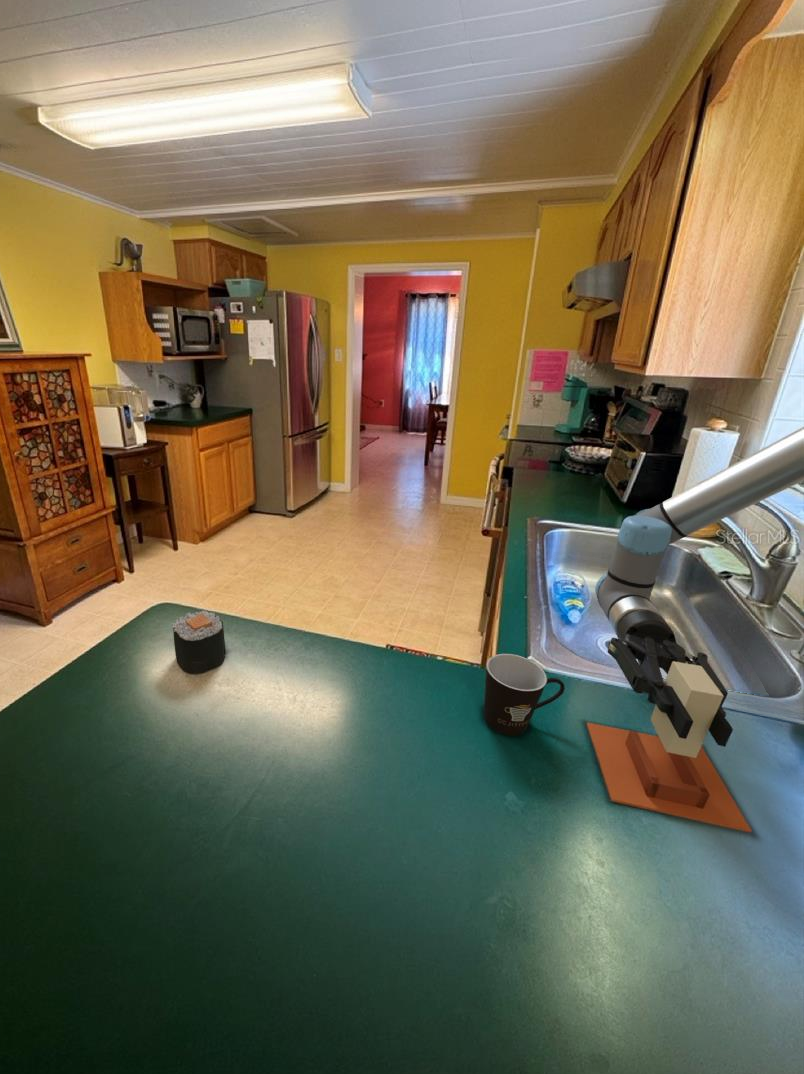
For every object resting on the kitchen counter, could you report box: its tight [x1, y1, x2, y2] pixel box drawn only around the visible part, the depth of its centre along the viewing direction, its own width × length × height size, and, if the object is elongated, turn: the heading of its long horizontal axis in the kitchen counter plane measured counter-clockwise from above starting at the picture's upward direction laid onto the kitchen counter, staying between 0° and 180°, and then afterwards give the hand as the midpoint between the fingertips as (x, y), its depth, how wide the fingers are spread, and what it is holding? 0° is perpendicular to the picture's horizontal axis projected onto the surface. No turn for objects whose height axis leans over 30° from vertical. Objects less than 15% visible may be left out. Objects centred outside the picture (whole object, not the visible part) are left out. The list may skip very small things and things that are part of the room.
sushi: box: [171, 610, 227, 675], centre depth 82 cm, size 8×8×8 cm
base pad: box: [586, 722, 752, 833], centre depth 65 cm, size 16×14×4 cm
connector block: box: [650, 661, 724, 758], centre depth 61 cm, size 4×6×10 cm, turn 167°
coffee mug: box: [483, 653, 565, 737], centre depth 71 cm, size 12×9×10 cm
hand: (705, 733), depth 56 cm, fingers closed on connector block, 3 cm apart
